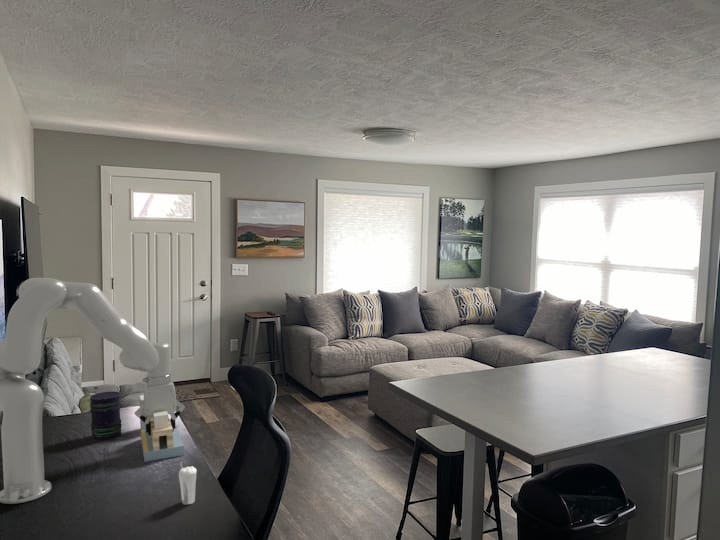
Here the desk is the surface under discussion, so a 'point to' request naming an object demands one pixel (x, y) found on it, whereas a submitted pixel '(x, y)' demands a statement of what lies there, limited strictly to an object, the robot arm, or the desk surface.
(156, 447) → the pallet
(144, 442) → the block
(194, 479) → the milkshake
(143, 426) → the supplement box
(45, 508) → the desk surface
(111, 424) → the storage jar
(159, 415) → the crate cream
